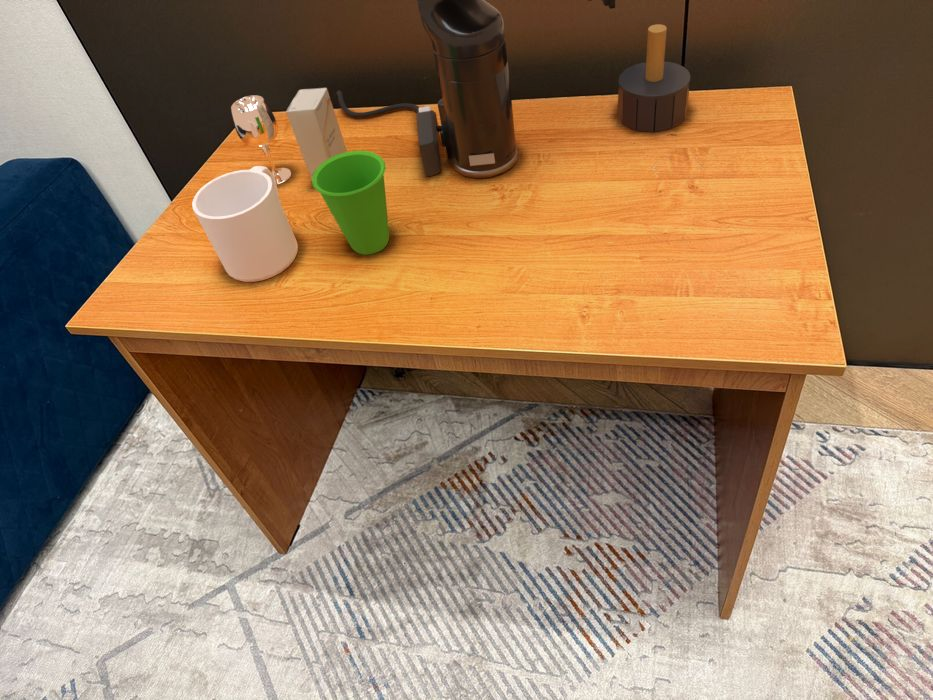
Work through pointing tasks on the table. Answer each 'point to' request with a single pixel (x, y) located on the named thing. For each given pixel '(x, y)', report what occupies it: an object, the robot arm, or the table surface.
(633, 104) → the gray cylinder with peg
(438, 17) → the robot arm
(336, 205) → the cup
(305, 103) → the cosmetic box
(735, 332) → the table surface
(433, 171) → the usb drive
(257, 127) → the wineglass
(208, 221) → the mug
